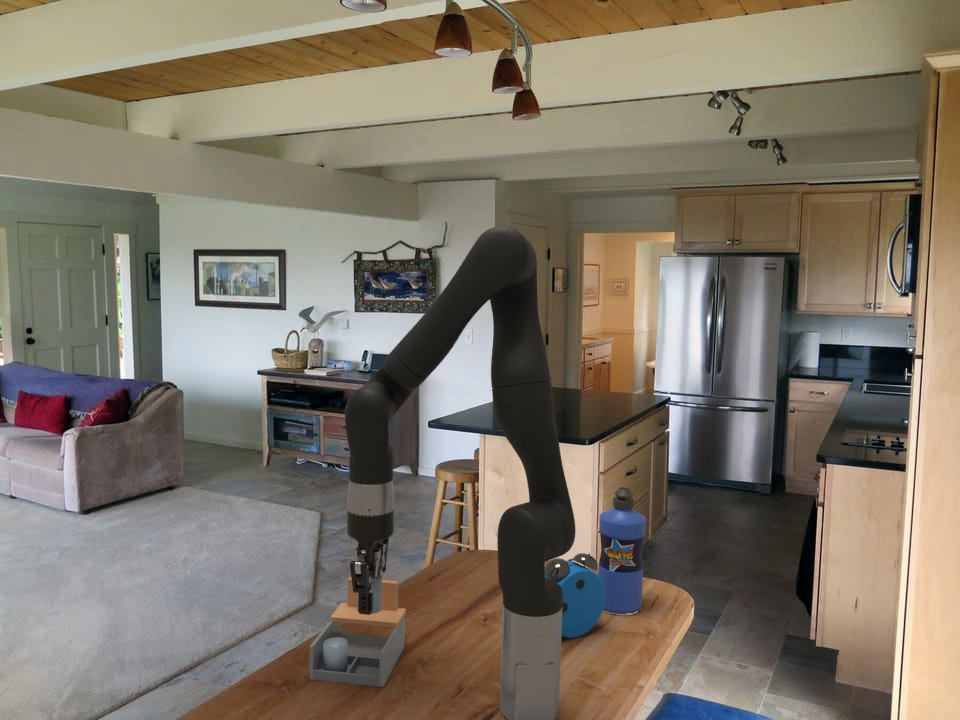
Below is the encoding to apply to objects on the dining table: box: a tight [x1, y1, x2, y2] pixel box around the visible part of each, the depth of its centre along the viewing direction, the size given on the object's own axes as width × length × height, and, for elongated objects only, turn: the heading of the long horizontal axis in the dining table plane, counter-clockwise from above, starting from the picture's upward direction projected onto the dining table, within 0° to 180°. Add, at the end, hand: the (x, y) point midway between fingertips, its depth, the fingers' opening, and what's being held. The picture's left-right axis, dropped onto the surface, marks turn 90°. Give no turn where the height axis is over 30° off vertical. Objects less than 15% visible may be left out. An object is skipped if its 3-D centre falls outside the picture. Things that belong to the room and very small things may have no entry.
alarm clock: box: [545, 552, 605, 639], centre depth 149 cm, size 13×6×15 cm, turn 122°
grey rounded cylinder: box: [323, 637, 348, 672], centre depth 131 cm, size 4×4×5 cm
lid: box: [330, 576, 407, 628], centre depth 139 cm, size 6×12×6 cm, turn 81°
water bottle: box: [597, 486, 647, 614], centre depth 161 cm, size 9×9×25 cm
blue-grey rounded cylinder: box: [357, 576, 383, 614], centre depth 129 cm, size 4×4×5 cm
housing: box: [309, 616, 406, 688], centre depth 135 cm, size 14×12×7 cm
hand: (369, 607), depth 130 cm, fingers closed on blue-grey rounded cylinder, 4 cm apart
